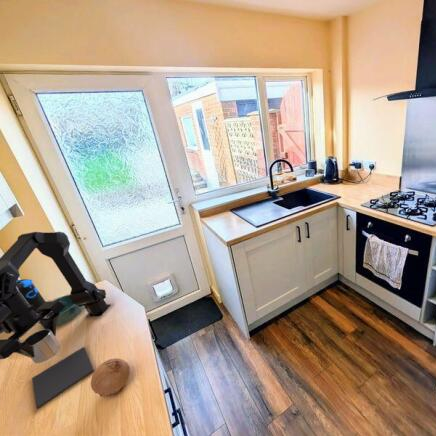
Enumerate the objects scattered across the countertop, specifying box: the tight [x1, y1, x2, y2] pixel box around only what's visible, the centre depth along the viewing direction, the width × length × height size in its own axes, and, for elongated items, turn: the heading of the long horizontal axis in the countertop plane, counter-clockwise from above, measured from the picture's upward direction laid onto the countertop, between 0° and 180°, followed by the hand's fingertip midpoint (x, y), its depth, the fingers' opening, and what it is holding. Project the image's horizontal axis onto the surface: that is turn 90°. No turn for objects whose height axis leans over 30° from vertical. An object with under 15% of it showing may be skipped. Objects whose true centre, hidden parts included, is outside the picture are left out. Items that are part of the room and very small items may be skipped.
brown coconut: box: [90, 357, 131, 397], centre depth 73 cm, size 10×9×10 cm
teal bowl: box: [52, 294, 85, 328], centre depth 105 cm, size 14×14×6 cm
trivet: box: [31, 346, 95, 410], centre depth 80 cm, size 14×14×1 cm
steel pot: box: [22, 328, 62, 364], centre depth 76 cm, size 7×7×7 cm
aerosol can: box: [16, 278, 46, 313], centre depth 104 cm, size 8×8×20 cm
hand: (43, 346), depth 76 cm, fingers closed on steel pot, 6 cm apart
